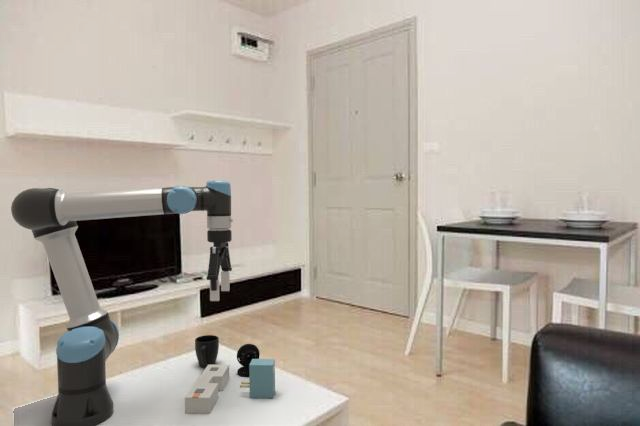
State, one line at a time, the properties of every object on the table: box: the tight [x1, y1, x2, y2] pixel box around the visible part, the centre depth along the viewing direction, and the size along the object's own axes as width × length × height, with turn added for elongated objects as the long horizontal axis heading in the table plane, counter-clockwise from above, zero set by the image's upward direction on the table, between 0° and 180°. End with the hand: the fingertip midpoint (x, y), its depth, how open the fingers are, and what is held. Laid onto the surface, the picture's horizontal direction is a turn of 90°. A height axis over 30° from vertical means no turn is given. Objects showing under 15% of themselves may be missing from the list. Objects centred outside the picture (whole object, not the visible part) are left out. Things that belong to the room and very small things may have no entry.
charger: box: [239, 358, 276, 399], centre depth 138 cm, size 10×5×10 cm, turn 88°
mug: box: [194, 334, 220, 369], centre depth 160 cm, size 8×12×10 cm
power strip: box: [184, 364, 230, 414], centre depth 142 cm, size 7×32×5 cm, turn 178°
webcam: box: [236, 343, 260, 378], centre depth 154 cm, size 8×8×10 cm
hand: (220, 295), depth 145 cm, fingers open, 13 cm apart
